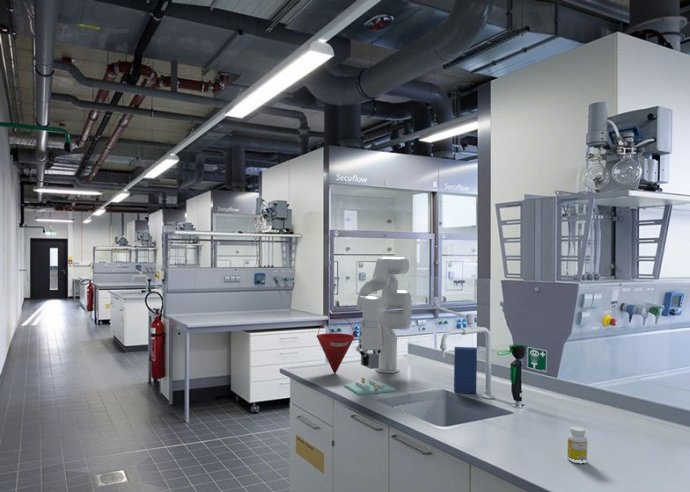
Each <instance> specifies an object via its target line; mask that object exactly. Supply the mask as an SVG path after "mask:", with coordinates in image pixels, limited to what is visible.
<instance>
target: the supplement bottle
mask: <svg viewBox="0 0 690 492" xmlns="http://www.w3.org/2000/svg"><path fill="white" fill-rule="evenodd" d="M569 430H570V434H568V435H567V458H568V457H569V458H571V459H574V460H581V461H583V460H587V461H588V438H587V437H586V436H585V435H586V430H585V428H583V427H580V426H570V428H569Z"/></svg>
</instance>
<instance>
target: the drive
mask: <svg viewBox="0 0 690 492" xmlns="http://www.w3.org/2000/svg"><path fill="white" fill-rule="evenodd" d="M366 357H367V366H364V365H363V363H362V355H361V354H360V365H361V366H363V367H365V368H367V369H370V370H371V369H372V370H373V369H374V370H376V369H377V368H379V355H378V354H375V353H373V351H371V350H368V351H367V355H366Z"/></svg>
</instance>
